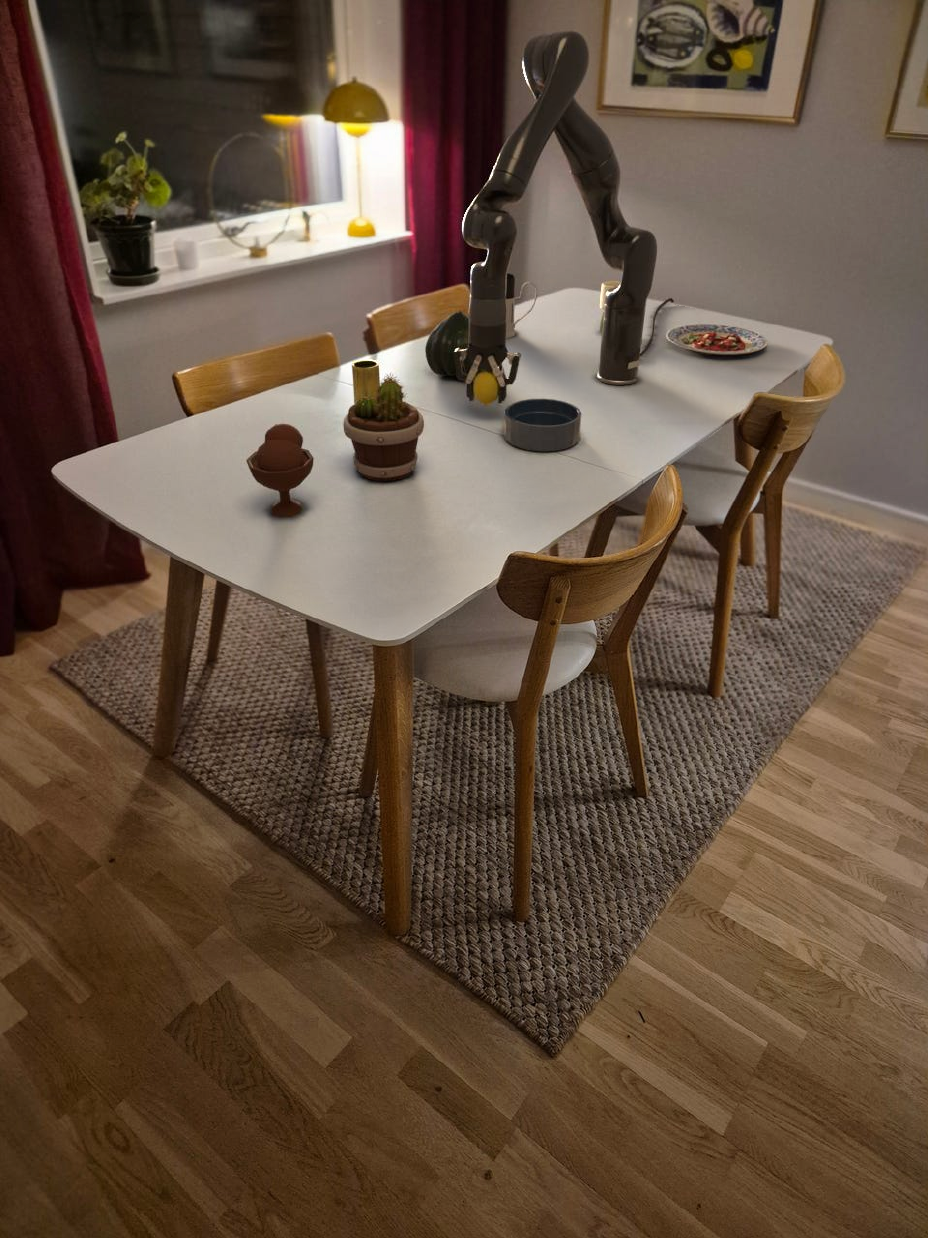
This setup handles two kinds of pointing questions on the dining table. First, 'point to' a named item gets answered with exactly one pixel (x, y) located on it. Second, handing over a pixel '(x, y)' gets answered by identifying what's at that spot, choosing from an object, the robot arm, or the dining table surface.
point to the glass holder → (513, 304)
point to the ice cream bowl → (282, 466)
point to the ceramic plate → (717, 339)
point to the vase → (365, 378)
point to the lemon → (486, 387)
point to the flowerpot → (384, 433)
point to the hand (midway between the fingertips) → (486, 400)
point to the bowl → (542, 424)
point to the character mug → (604, 289)
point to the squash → (448, 344)
